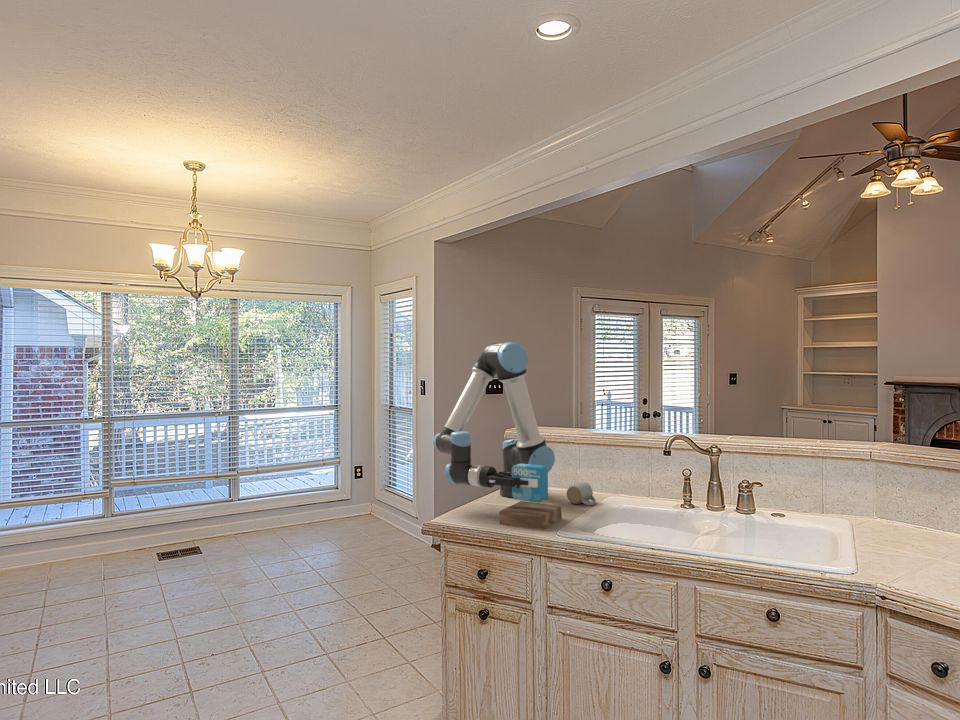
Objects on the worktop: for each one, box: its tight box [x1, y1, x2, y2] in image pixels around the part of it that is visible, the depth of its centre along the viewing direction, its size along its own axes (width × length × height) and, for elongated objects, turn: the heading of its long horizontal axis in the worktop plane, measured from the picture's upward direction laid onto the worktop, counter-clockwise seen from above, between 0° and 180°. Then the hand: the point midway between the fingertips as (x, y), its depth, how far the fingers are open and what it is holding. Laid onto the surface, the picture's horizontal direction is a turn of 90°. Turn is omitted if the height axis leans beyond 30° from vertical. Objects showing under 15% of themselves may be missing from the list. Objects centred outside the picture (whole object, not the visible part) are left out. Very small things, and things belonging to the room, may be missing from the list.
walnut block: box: [499, 500, 563, 531], centre depth 212 cm, size 16×16×5 cm
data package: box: [512, 464, 549, 503], centre depth 212 cm, size 12×4×12 cm, turn 58°
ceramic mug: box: [566, 481, 597, 506], centre depth 236 cm, size 11×8×8 cm
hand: (540, 482), depth 210 cm, fingers closed on data package, 4 cm apart
